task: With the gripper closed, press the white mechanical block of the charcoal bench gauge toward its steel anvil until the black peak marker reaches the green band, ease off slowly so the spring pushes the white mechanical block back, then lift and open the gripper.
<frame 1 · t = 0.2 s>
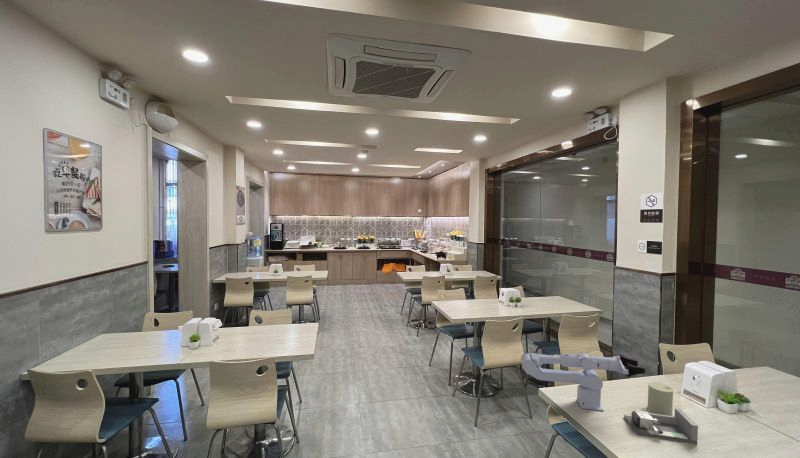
hand: (640, 367, 151), 21 cm above the table, tool horizontal, fingers open, 7 cm apart
white mechanical block: (648, 422, 138), point 4 cm above the table, slide at 0.0 cm
gauge base: (659, 430, 139), on the table
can: (659, 412, 153), on the table
peak marker: (659, 430, 135), point 3 cm above the table, slide at 0.0 cm
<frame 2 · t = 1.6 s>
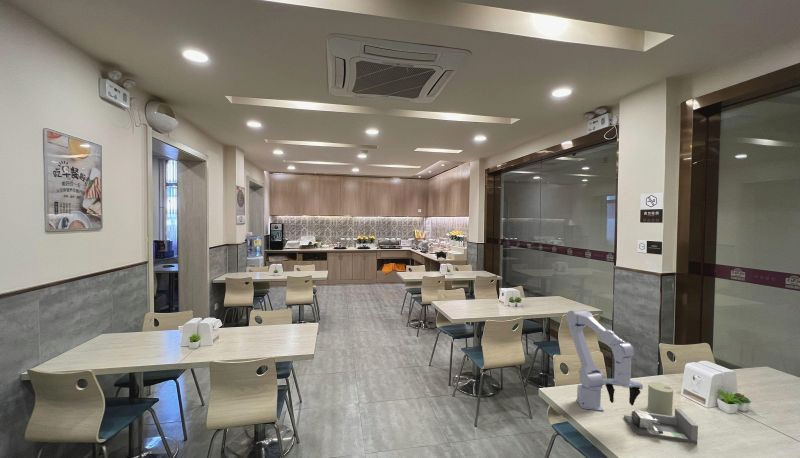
hand: (621, 402, 142), 9 cm above the table, tool pointing down, fingers open, 7 cm apart
nothing on the table moved.
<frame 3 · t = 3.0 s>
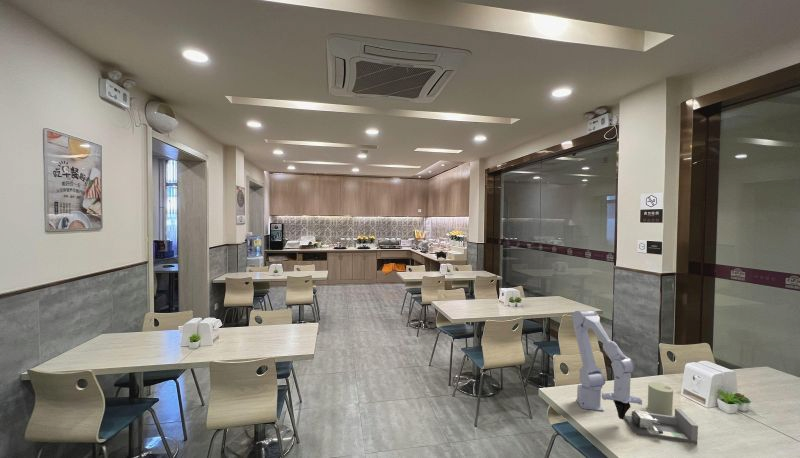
hand: (620, 417, 142), 3 cm above the table, tool pointing down, fingers closed
nothing on the table moved.
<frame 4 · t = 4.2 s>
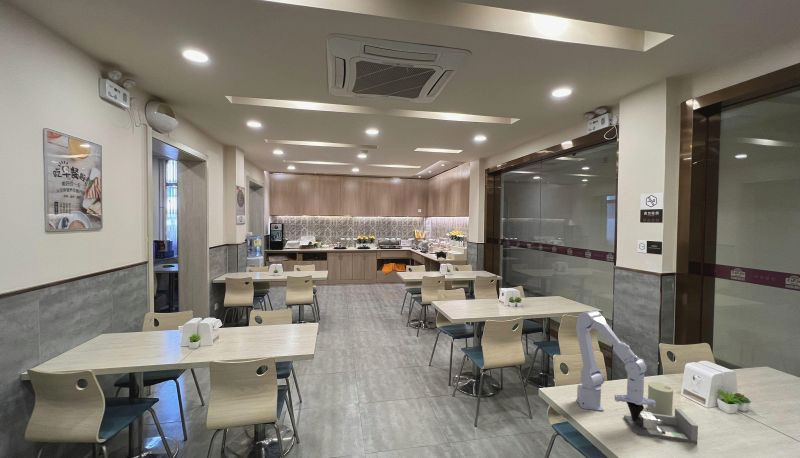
hand: (634, 419, 141), 3 cm above the table, tool pointing down, fingers closed
white mechanical block: (651, 422, 138), point 4 cm above the table, slide at 1.2 cm, touching gripper, peak marker
peak marker: (661, 430, 135), point 3 cm above the table, slide at 0.8 cm, touching white mechanical block
everything else where it was.
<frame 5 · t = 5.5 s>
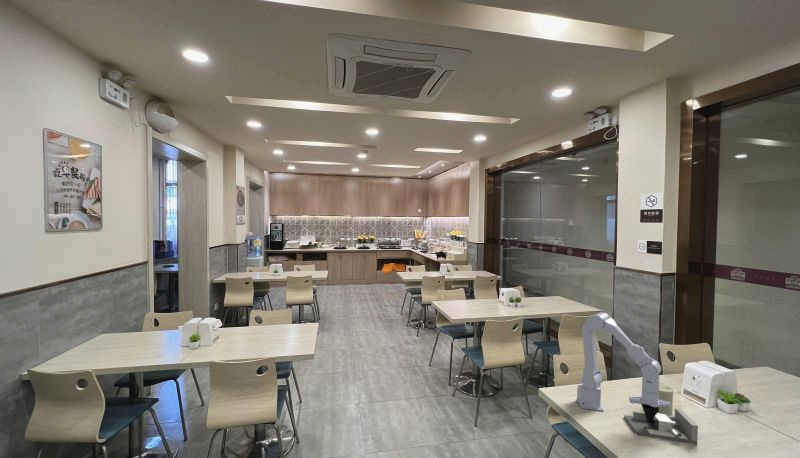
hand: (649, 421, 140), 3 cm above the table, tool pointing down, fingers closed
white mechanical block: (667, 425, 137), point 4 cm above the table, slide at 6.7 cm, touching gripper, peak marker
peak marker: (677, 432, 133), point 3 cm above the table, slide at 6.3 cm, touching white mechanical block
everything else where it was.
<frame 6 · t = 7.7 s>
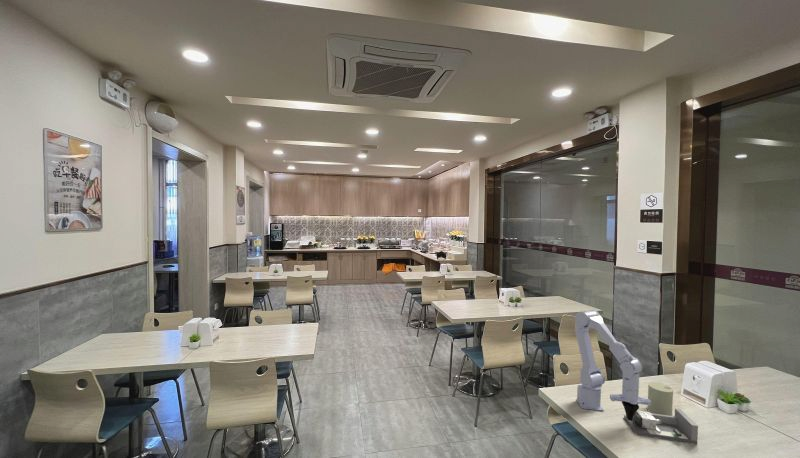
hand: (629, 419, 142), 3 cm above the table, tool pointing down, fingers closed
white mechanical block: (650, 422, 138), point 4 cm above the table, slide at 0.8 cm
peak marker: (677, 432, 133), point 3 cm above the table, slide at 6.3 cm
everything else where it was.
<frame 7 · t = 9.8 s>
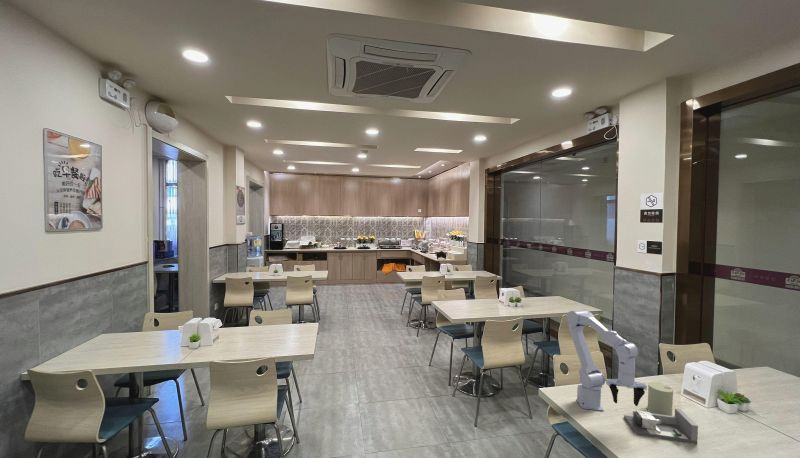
hand: (625, 403, 142), 9 cm above the table, tool pointing down, fingers open, 7 cm apart
nothing on the table moved.
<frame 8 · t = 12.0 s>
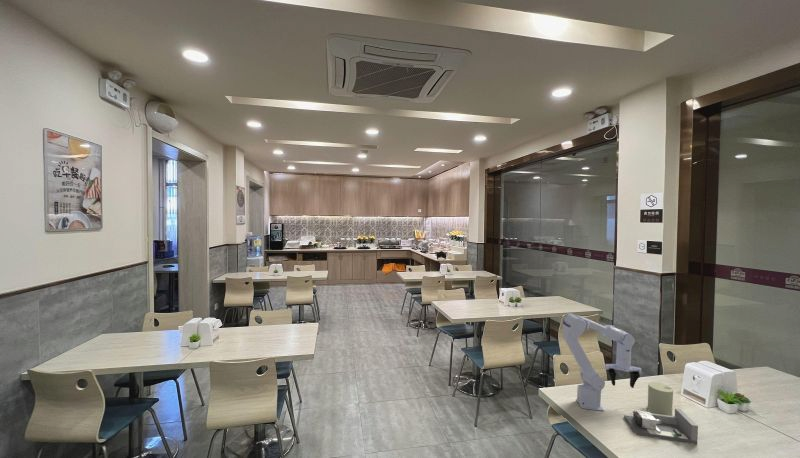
hand: (622, 385, 157), 9 cm above the table, tool pointing down, fingers open, 7 cm apart
nothing on the table moved.
at the end: peak marker slide at 6.3 cm; white mechanical block slide at 0.8 cm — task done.
